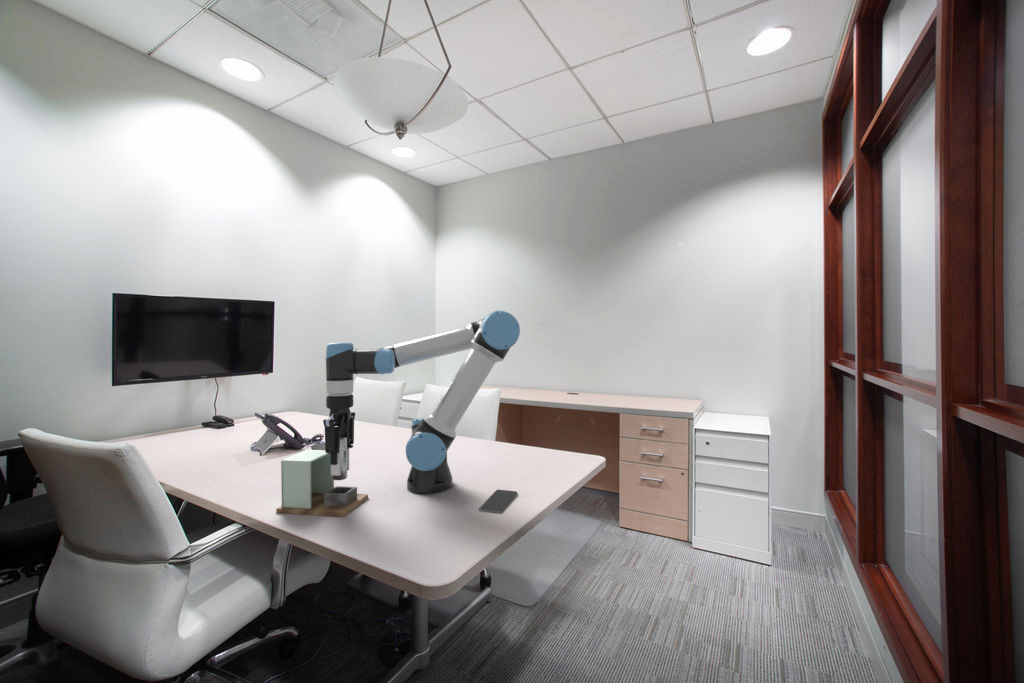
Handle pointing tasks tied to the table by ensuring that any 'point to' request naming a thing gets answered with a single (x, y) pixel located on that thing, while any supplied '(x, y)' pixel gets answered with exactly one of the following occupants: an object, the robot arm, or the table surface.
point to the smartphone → (498, 501)
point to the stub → (342, 459)
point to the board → (330, 503)
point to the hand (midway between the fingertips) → (340, 472)
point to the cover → (305, 477)
